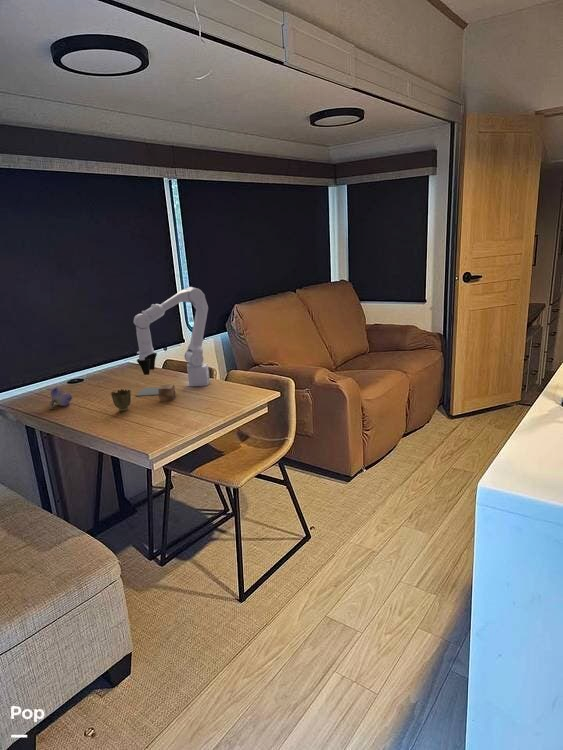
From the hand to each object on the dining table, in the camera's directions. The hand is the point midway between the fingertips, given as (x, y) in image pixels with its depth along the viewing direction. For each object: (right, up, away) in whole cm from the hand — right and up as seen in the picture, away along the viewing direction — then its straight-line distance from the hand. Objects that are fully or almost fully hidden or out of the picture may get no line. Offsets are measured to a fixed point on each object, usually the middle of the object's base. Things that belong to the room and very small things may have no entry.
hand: (149, 372), depth 211 cm
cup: (-5, -16, -17) cm, 24 cm away
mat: (0, -9, +4) cm, 10 cm away
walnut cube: (+10, -12, -6) cm, 16 cm away
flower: (-36, -15, -7) cm, 39 cm away
